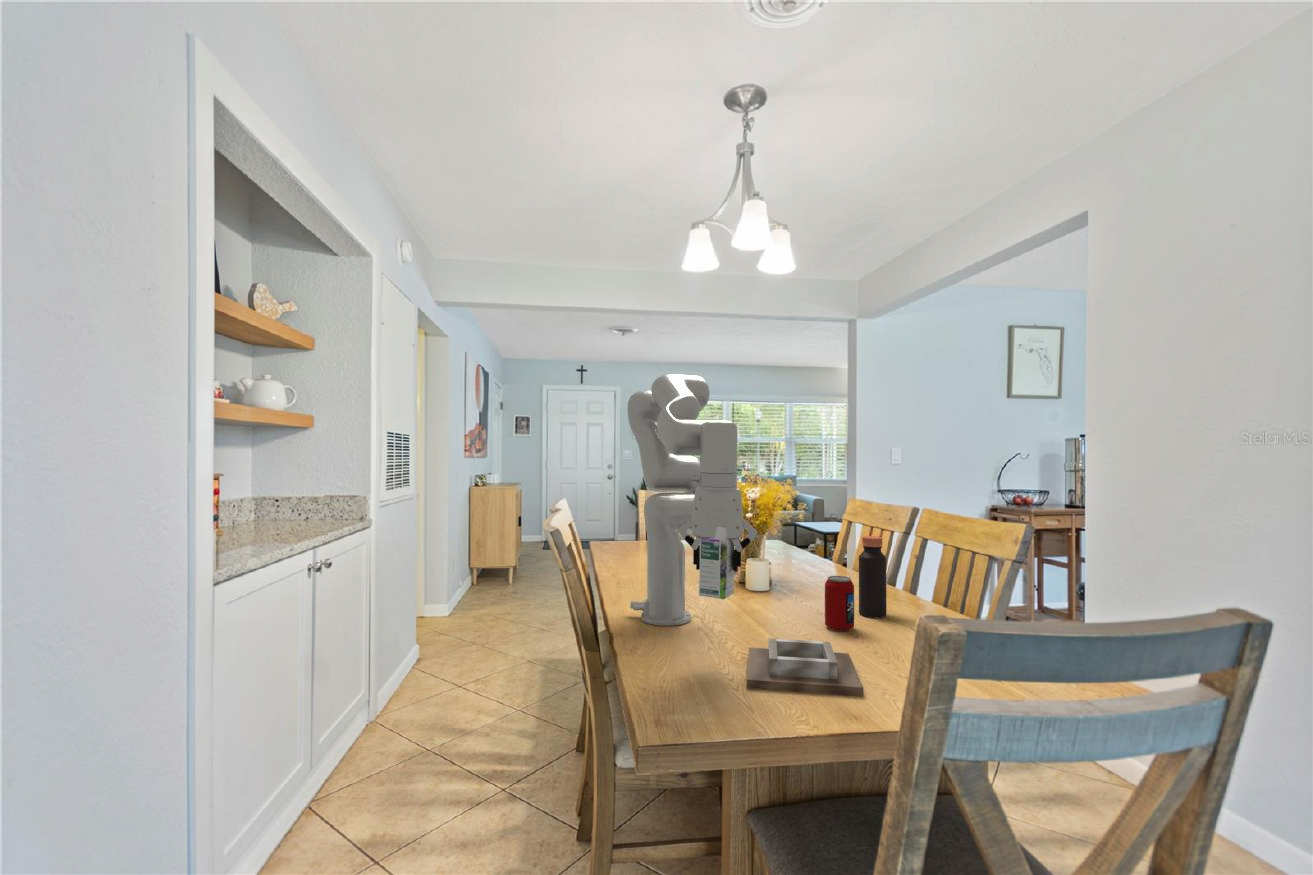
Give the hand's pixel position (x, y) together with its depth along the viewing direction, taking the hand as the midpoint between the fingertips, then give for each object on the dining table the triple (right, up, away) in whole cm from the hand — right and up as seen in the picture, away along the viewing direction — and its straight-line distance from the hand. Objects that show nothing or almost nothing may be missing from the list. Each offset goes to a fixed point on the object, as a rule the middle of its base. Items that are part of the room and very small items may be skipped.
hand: (717, 568), depth 124 cm
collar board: (+15, -18, -8) cm, 25 cm away
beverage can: (+32, -19, +22) cm, 43 cm away
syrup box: (0, -6, 0) cm, 6 cm away
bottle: (+44, -20, +34) cm, 59 cm away
